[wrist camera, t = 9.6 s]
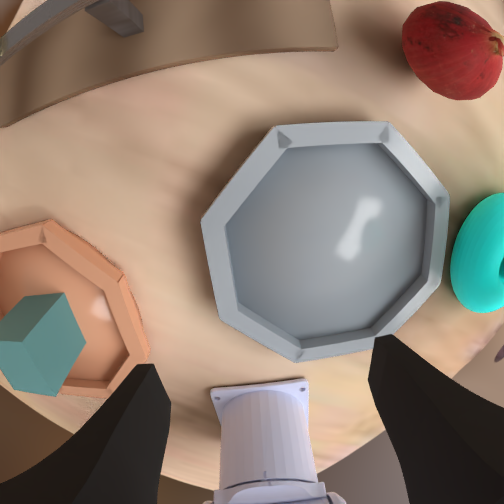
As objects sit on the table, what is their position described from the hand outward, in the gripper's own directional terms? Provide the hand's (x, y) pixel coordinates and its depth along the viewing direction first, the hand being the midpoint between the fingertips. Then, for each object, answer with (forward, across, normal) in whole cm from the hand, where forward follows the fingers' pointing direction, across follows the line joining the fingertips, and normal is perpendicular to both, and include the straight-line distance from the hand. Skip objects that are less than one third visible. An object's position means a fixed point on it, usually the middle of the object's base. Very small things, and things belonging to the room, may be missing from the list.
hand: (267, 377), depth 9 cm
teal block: (+10, +16, +3) cm, 19 cm away
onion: (+11, -12, -12) cm, 20 cm away
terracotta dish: (+10, +16, +3) cm, 19 cm away
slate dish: (+10, -5, 0) cm, 12 cm away
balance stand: (+10, +5, -15) cm, 19 cm away
